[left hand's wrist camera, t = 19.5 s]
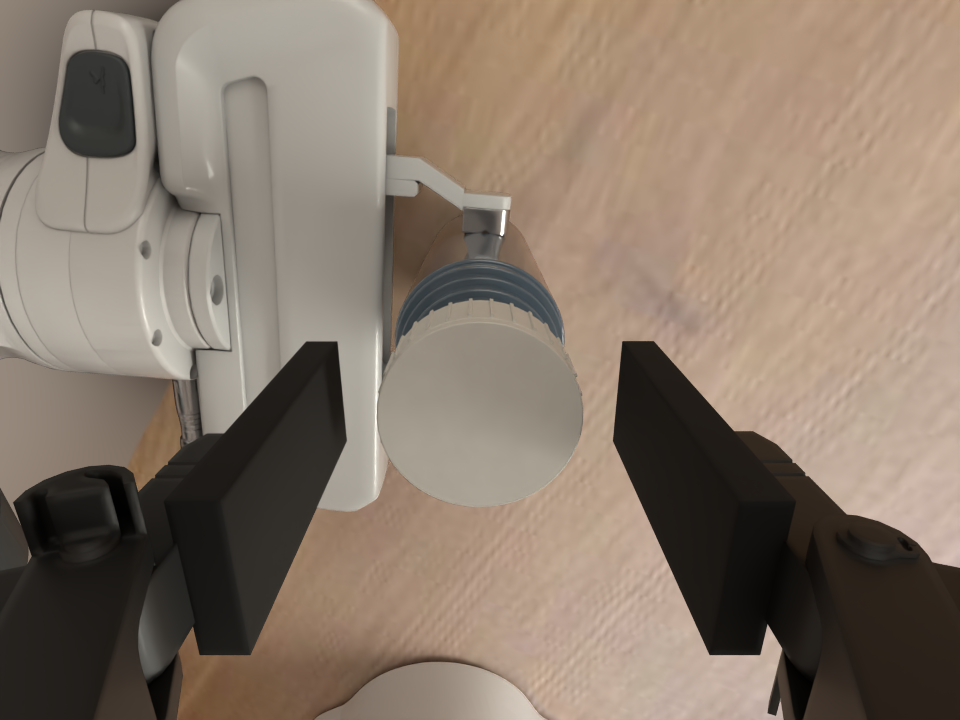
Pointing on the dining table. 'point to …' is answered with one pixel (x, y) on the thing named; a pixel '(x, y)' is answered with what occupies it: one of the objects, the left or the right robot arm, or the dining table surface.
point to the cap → (479, 404)
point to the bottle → (479, 277)
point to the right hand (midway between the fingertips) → (501, 295)
